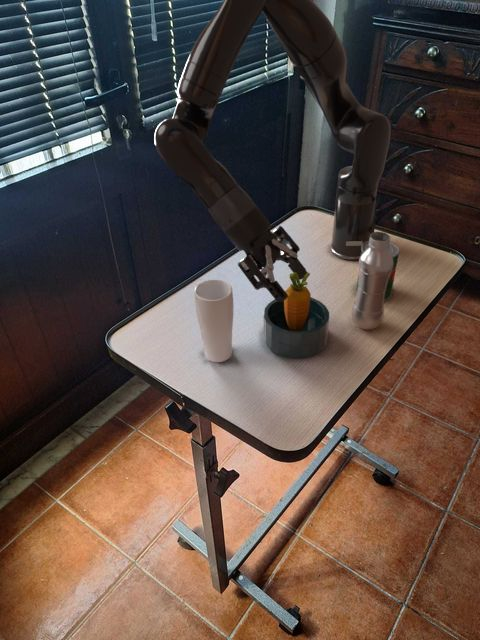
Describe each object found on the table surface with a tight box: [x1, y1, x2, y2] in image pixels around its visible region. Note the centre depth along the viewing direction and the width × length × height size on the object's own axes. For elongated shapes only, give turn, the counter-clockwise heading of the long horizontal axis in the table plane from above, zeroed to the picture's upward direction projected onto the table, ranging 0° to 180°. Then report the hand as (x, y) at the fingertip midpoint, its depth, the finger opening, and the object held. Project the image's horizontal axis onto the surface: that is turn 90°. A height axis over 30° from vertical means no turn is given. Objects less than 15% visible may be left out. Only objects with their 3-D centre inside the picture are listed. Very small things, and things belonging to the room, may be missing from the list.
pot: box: [263, 297, 330, 359], centre depth 101 cm, size 13×13×6 cm
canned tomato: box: [355, 241, 400, 302], centre depth 112 cm, size 8×8×11 cm
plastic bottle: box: [351, 231, 393, 330], centre depth 100 cm, size 6×7×20 cm
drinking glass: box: [193, 279, 235, 363], centre depth 95 cm, size 7×7×15 cm
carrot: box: [284, 271, 311, 332], centre depth 98 cm, size 5×5×15 cm
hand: (294, 288), depth 96 cm, fingers open, 8 cm apart
